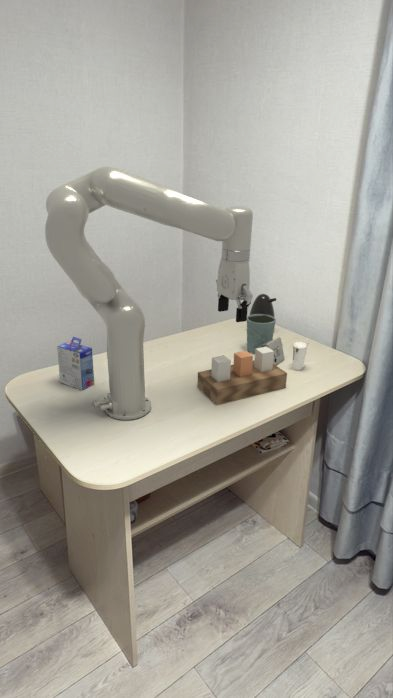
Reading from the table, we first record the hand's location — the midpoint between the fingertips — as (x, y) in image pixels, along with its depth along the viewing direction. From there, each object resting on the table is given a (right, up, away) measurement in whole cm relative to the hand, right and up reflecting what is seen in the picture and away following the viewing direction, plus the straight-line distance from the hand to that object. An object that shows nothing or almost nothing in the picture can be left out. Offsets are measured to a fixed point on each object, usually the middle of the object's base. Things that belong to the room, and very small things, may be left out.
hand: (231, 316), depth 132 cm
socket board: (+4, -21, +11) cm, 24 cm away
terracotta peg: (+4, -17, +9) cm, 19 cm away
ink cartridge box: (-46, -20, +12) cm, 52 cm away
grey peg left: (-3, -18, +6) cm, 19 cm away
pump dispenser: (+16, -2, +54) cm, 57 cm away
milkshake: (+24, -16, +23) cm, 37 cm away
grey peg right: (+11, -16, +12) cm, 22 cm away
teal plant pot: (+13, -10, +37) cm, 41 cm away
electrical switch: (+16, -14, +28) cm, 35 cm away
